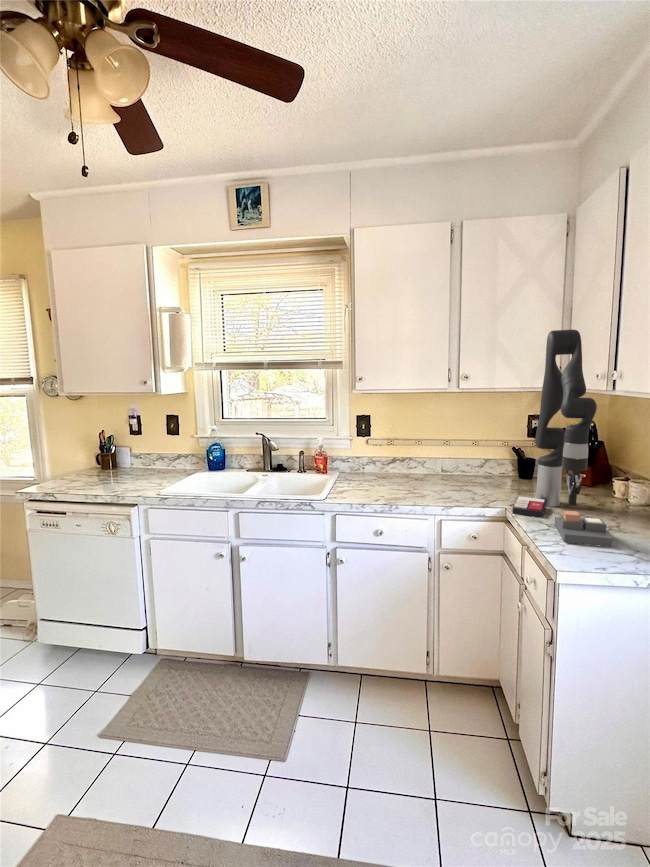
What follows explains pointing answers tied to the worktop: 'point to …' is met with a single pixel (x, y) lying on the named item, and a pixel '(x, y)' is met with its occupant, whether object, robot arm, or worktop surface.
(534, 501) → the calculator
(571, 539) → the push button base
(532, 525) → the worktop surface
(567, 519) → the peach key
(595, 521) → the cream key
